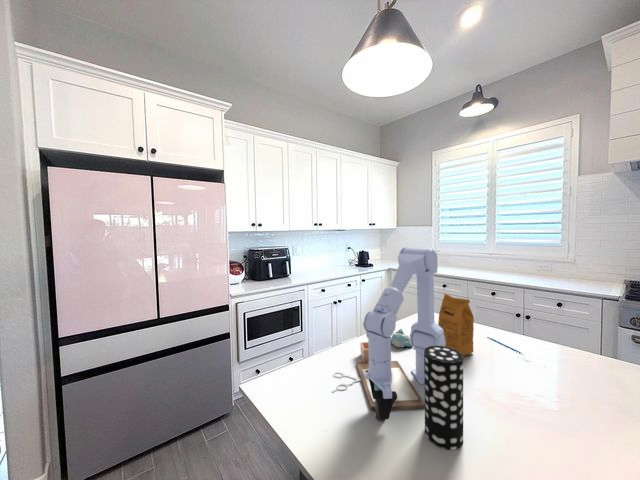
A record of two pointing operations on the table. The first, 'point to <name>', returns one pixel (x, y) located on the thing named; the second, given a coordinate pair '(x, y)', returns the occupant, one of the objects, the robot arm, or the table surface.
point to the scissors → (345, 384)
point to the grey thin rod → (503, 344)
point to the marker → (377, 405)
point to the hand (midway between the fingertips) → (380, 407)
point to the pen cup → (365, 351)
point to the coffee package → (457, 324)
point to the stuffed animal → (400, 339)
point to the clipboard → (394, 388)
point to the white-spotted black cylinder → (443, 396)
